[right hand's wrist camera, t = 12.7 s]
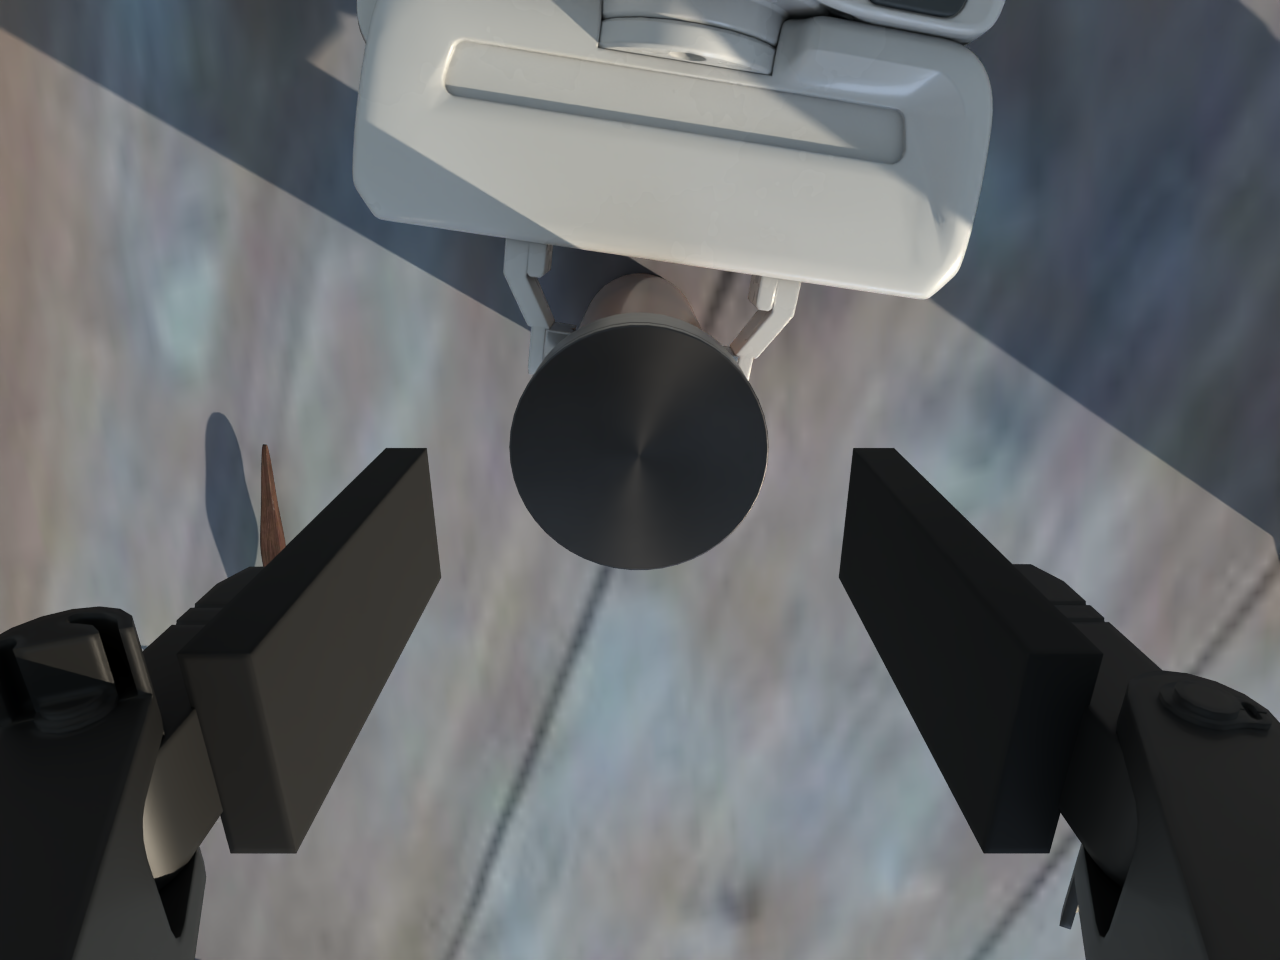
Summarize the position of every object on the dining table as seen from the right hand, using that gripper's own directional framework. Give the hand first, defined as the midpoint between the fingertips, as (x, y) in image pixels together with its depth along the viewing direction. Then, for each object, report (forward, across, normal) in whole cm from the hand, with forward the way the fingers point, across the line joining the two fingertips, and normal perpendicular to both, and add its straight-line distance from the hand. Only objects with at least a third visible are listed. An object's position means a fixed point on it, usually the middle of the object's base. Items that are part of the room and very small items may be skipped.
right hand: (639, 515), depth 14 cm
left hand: (+14, 0, -1) cm, 14 cm away
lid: (+4, 0, 0) cm, 4 cm away
